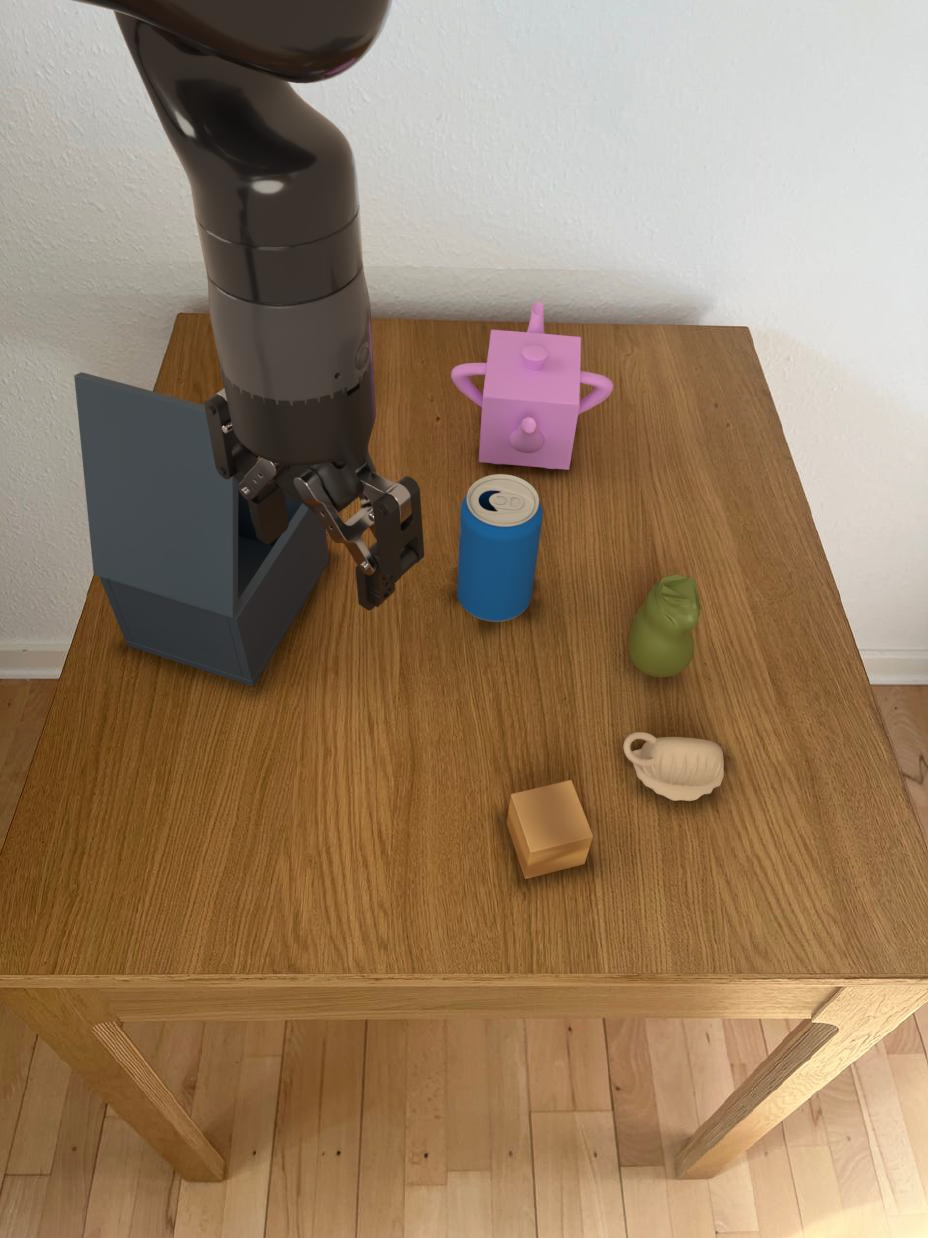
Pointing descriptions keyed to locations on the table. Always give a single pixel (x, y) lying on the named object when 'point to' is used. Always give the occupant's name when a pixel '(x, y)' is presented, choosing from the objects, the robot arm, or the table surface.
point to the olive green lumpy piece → (665, 627)
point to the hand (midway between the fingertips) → (323, 566)
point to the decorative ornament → (677, 765)
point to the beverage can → (498, 547)
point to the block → (548, 829)
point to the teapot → (530, 395)
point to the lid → (157, 495)
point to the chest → (265, 602)
